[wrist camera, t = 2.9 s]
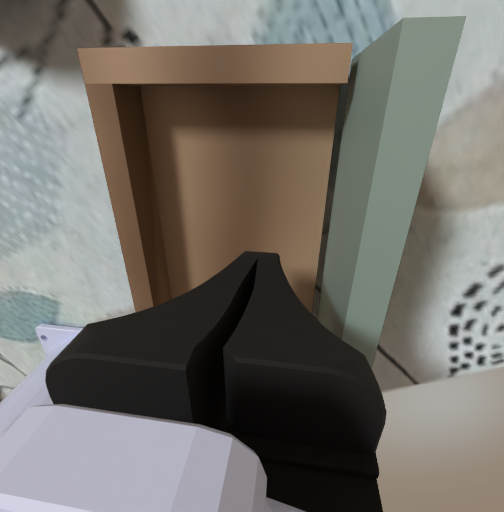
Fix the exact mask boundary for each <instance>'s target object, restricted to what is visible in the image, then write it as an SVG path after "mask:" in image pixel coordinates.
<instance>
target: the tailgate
mask: <svg viewBox="0 0 504 512" xmlns="http://www.w3.org/2000/svg"><path fill="white" fill-rule="evenodd" d="M465 19H466V16H456V17H421V18H403V19H402V20H400V21H399V22H398V23H397V24H395V25H394V26H393V27H392V28H390V29H389V30H388V31H387V32H385V33H384V34H383V35H382V36H381V37H379V38H378V39H377V40H376V41H374V42H373V43H372V44H371V45H369V46H368V47H367V48H366V49H364V50H363V51H362V52H361V53H359V54H358V55H357V56H356V57H354V58H353V59H352V64H351V71H350V78H349V86H348V93H347V101H346V108H345V116H344V123H343V130H342V138H341V145H340V153H339V160H338V168H337V175H336V182H335V190H334V197H333V205H332V212H331V220H330V227H329V234H328V242H327V249H326V257H325V264H324V272H323V279H322V286H321V294H320V301H319V309H318V316H317V320H318V321H319V322H320V323H321V324H322V325H323V326H324V327H325V328H327V329H328V330H329V331H331V332H332V333H333V334H334V335H336V336H337V337H338V338H340V339H341V340H343V341H344V342H346V343H347V344H349V345H350V346H352V347H353V348H355V349H357V350H358V351H360V352H361V353H363V354H364V355H365V357H366V359H367V361H368V363H369V365H370V367H371V368H372V365H373V361H374V357H375V353H376V350H377V346H378V342H379V339H380V335H381V331H382V327H383V324H384V320H385V316H386V313H387V309H388V305H389V301H390V298H391V294H392V290H393V287H394V283H395V279H396V275H397V272H398V268H399V264H400V261H401V257H402V253H403V249H404V246H405V242H406V238H407V235H408V231H409V227H410V223H411V220H412V216H413V212H414V208H415V205H416V201H417V197H418V194H419V190H420V186H421V182H422V179H423V175H424V171H425V168H426V164H427V160H428V156H429V153H430V149H431V145H432V142H433V138H434V134H435V130H436V127H437V123H438V119H439V116H440V112H441V108H442V104H443V101H444V97H445V93H446V90H447V86H448V82H449V78H450V75H451V71H452V67H453V64H454V60H455V56H456V52H457V49H458V45H459V41H460V38H461V34H462V30H463V26H464V23H465Z"/></svg>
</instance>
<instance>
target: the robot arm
mask: <svg viewBox="0 0 504 512" xmlns="http://www.w3.org/2000/svg"><path fill="white" fill-rule="evenodd" d="M36 333H37V335H38V337H39V340H40V342H41V344H42V347H43V349H44V351H45V353H46V357H45V358H44V359H43V360H42V361H41V362H40V363H39V364H38V365H37V366H36V367H35V368H34V369H33V370H32V371H31V372H30V373H29V374H28V375H27V376H26V377H25V378H24V379H23V380H22V381H21V382H20V383H19V384H18V385H17V386H16V387H15V388H14V389H13V390H12V391H11V392H10V393H9V394H8V395H7V396H6V397H5V398H4V399H3V400H2V401H1V402H0V512H383V510H382V504H381V499H380V495H379V489H378V484H377V479H376V478H378V476H379V468H378V463H377V458H376V453H375V452H376V449H377V446H378V443H379V440H380V437H381V434H382V431H383V428H384V425H385V419H386V409H385V404H384V400H383V396H382V393H381V390H380V388H379V385H378V383H377V380H376V378H375V376H374V373H373V371H372V369H371V367H370V365H369V363H368V361H367V359H366V357H365V355H364V354H363V353H361V352H360V351H358V350H357V349H355V348H353V347H352V346H350V345H349V344H347V343H346V342H344V341H343V340H341V339H340V338H338V337H337V336H336V335H334V334H333V333H332V332H331V331H329V330H328V329H327V328H325V327H324V326H323V325H322V324H321V323H320V322H319V321H318V320H317V319H316V318H315V317H314V316H313V315H312V314H311V313H310V312H309V311H308V310H307V309H306V307H305V306H304V305H303V304H302V302H301V301H300V300H299V298H298V297H297V295H296V294H295V292H294V291H293V289H292V287H291V286H290V284H289V282H288V280H287V278H286V276H285V274H284V271H283V269H282V266H281V262H280V256H279V255H278V253H269V252H254V251H245V252H244V253H242V254H241V255H240V256H239V257H237V258H236V259H235V260H234V261H233V262H231V263H230V264H229V265H228V266H227V267H225V268H224V269H223V270H221V271H220V272H219V273H217V274H216V275H214V276H213V277H211V278H210V279H208V280H207V281H206V282H204V283H202V284H201V285H199V286H197V287H196V288H194V289H192V290H190V291H188V292H186V293H184V294H182V295H180V296H178V297H176V298H173V299H171V300H169V301H166V302H164V303H162V304H159V305H157V306H154V307H151V308H148V309H145V310H142V311H139V312H136V313H132V314H129V315H125V316H122V317H117V318H113V319H109V320H105V321H100V322H96V323H91V324H87V325H86V326H85V327H84V328H76V327H67V326H58V325H49V324H40V325H39V326H38V327H37V328H36Z"/></svg>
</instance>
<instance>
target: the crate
mask: <svg viewBox="0 0 504 512" xmlns="http://www.w3.org/2000/svg"><path fill="white" fill-rule="evenodd" d="M352 45H353V43H323V44H271V45H218V46H165V47H113V48H77V51H78V56H79V60H80V65H81V69H82V74H83V78H84V83H85V87H86V92H87V96H88V100H89V105H90V109H91V114H92V118H93V123H94V127H95V132H96V136H97V141H98V145H99V150H100V154H101V159H102V163H103V168H104V172H105V177H106V181H107V186H108V190H109V195H110V199H111V204H112V208H113V213H114V217H115V222H116V226H117V231H118V235H119V240H120V244H121V249H122V253H123V258H124V262H125V267H126V271H127V275H128V280H129V284H130V289H131V293H132V298H133V302H134V307H135V311H136V312H139V311H142V310H145V309H148V308H151V307H154V306H157V305H159V304H162V303H164V302H166V301H169V300H171V299H173V298H176V297H178V296H180V295H182V294H184V293H186V292H188V291H190V290H192V289H194V288H196V287H197V286H199V285H201V284H202V283H204V282H206V281H207V280H208V279H210V278H211V277H213V276H214V275H216V274H217V273H219V272H220V271H221V270H223V269H224V268H225V267H227V266H228V265H229V264H230V263H231V262H233V261H234V260H235V259H236V258H237V257H239V256H240V255H241V254H242V253H244V252H245V251H254V252H269V253H278V255H279V256H280V262H281V266H282V269H283V271H284V274H285V276H286V278H287V280H288V282H289V284H290V286H291V287H292V289H293V291H294V292H295V294H296V295H297V297H298V298H299V300H300V301H301V302H302V304H303V305H304V306H305V307H306V309H307V310H308V311H309V312H310V313H311V314H312V309H313V301H314V293H315V285H316V277H317V268H318V260H319V252H320V244H321V236H322V228H323V220H324V212H325V203H326V195H327V187H328V179H329V171H330V163H331V155H332V147H333V138H334V130H335V122H336V114H337V106H338V98H339V90H340V86H341V85H343V84H346V83H347V82H348V75H349V67H350V60H351V52H352Z"/></svg>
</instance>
